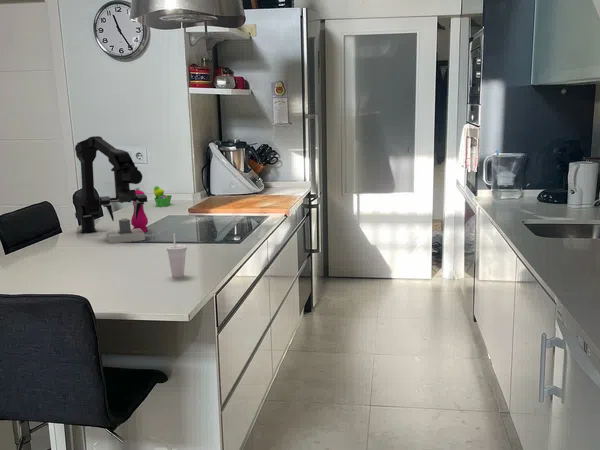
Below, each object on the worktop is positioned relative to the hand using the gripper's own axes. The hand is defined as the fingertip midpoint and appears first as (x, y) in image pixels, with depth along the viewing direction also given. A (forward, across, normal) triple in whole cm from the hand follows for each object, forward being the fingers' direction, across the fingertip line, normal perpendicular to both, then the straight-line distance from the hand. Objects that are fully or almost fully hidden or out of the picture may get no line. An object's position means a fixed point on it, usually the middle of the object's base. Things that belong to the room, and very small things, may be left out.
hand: (124, 220), depth 248 cm
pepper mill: (+8, +8, +14) cm, 18 cm away
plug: (+8, 0, 0) cm, 8 cm away
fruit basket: (+8, +31, +86) cm, 92 cm away
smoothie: (+8, +8, -67) cm, 68 cm away
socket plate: (+8, 0, 0) cm, 8 cm away
